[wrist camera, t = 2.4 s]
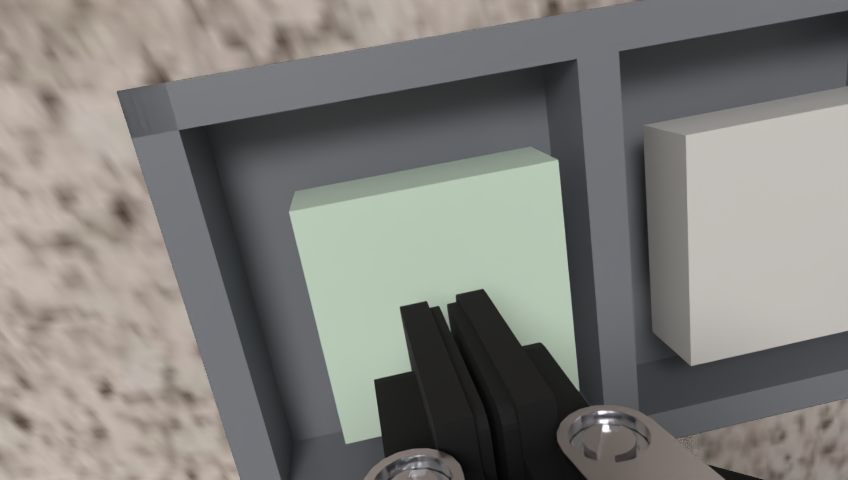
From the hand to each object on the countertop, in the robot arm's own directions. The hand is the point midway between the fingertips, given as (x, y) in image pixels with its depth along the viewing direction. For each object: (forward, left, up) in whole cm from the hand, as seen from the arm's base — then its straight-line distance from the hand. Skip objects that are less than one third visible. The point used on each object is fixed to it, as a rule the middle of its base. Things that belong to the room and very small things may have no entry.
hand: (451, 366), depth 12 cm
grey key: (-9, 0, -5) cm, 10 cm away
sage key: (0, 0, -5) cm, 5 cm away
